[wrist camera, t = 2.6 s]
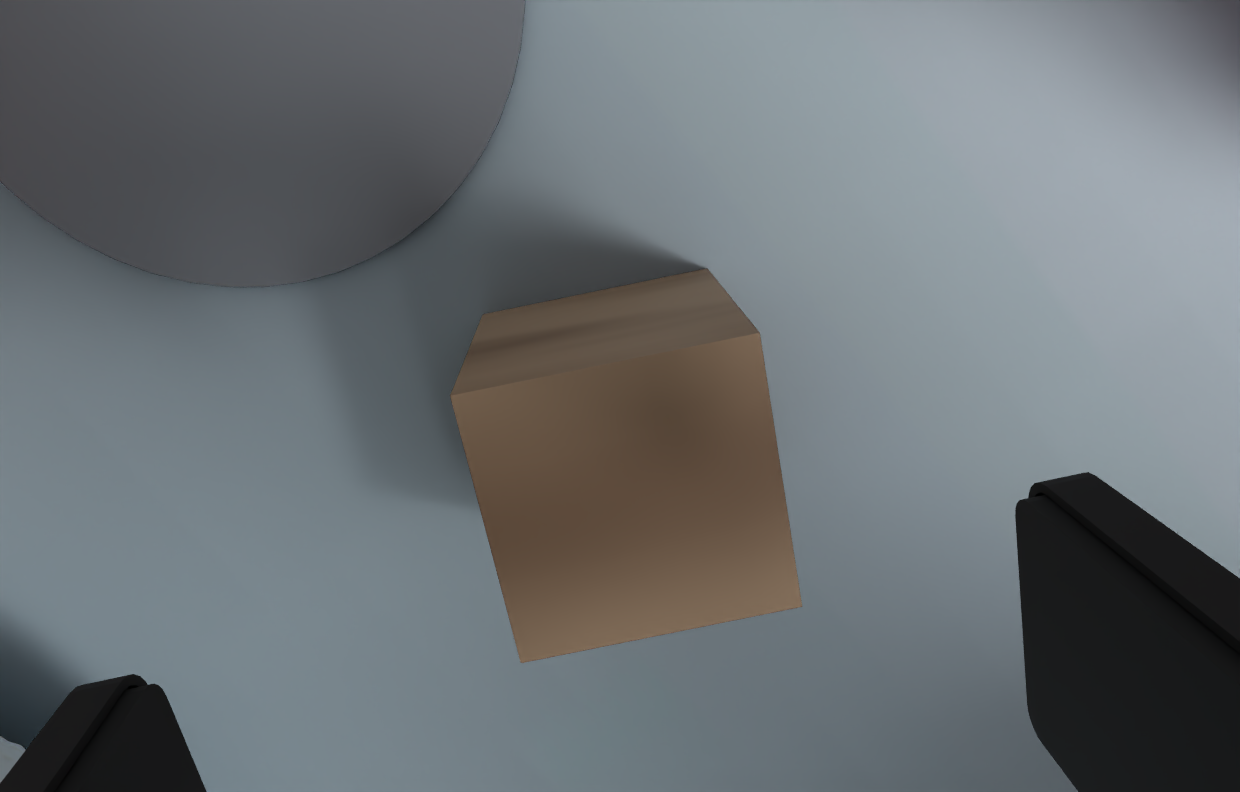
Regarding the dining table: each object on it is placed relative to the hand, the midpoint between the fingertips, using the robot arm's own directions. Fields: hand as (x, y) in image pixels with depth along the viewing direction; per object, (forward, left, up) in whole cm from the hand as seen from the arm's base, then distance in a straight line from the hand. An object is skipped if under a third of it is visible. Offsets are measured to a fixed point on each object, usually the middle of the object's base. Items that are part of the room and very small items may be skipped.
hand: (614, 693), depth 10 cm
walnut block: (0, -1, -12) cm, 12 cm away
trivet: (+10, +5, -12) cm, 16 cm away
